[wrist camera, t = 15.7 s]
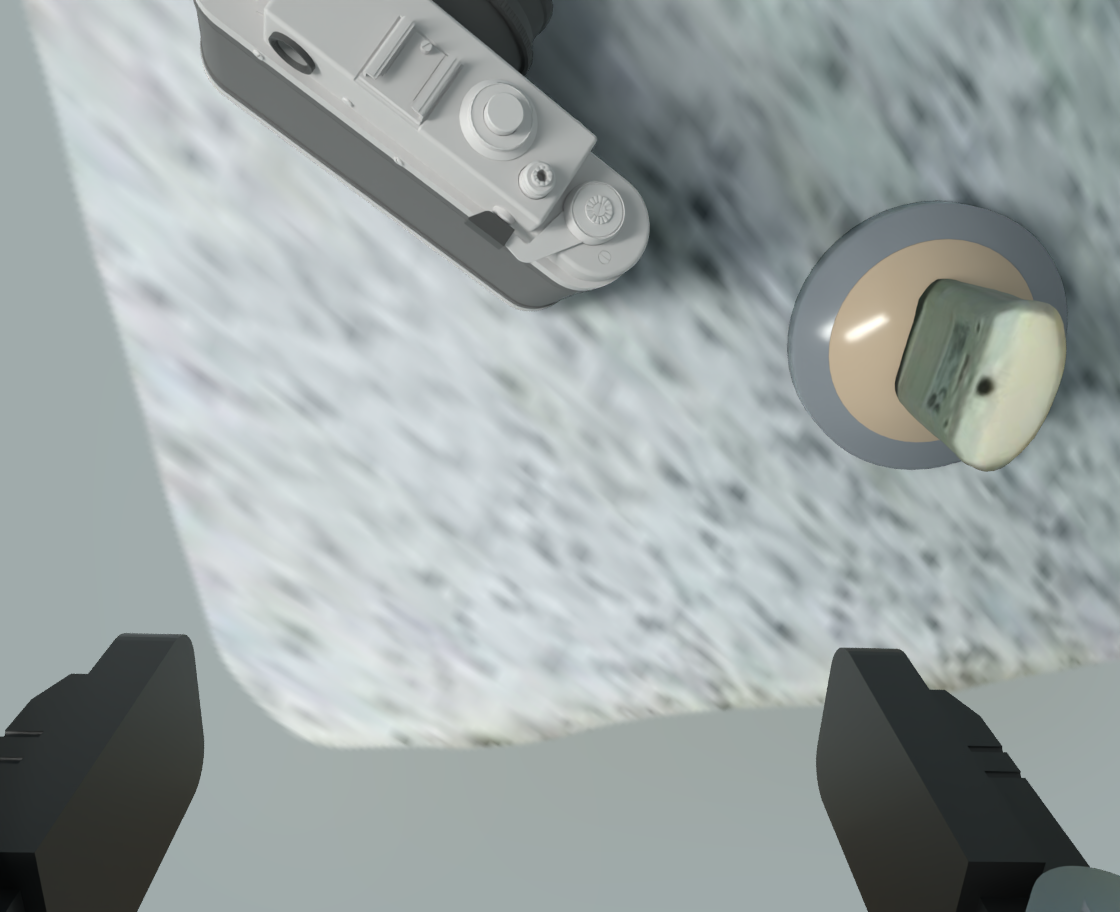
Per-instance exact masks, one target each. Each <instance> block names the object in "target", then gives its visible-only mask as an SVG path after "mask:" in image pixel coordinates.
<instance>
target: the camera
mask: <svg viewBox="0 0 1120 912" xmlns="http://www.w3.org/2000/svg"><path fill="white" fill-rule="evenodd" d="M193 1H194V4H195V7H196V9H197V15H198V22H199V28H200V34H201V41H200V51H201V59H202V63H203V67H204V70H205V73H206V75H207V77H208V79H209V80H210V82H211V83H212V85H213V86H214V87H215V88H216V89H217V90H218V91H219V92H220V93H221V94H222V95H223V96H224V97H226V98H227V99H228V100H230V101H231V102H233V103H234V104H235V105H237V106H238V107H239V108H241V109H242V110H243V111H245V112H246V113H247V114H249V115H250V116H252V117H253V118H254V119H256V120H257V121H258V122H260V123H261V124H262V125H264V126H265V127H267V128H268V129H269V130H271V131H272V132H273V133H275V134H276V135H277V136H279V137H280V138H281V139H283V140H284V141H286V142H287V143H288V144H290V145H291V146H292V147H294V148H295V149H296V150H298V151H299V152H300V153H302V154H303V155H305V156H306V157H307V158H309V159H310V160H311V161H313V162H314V163H315V164H317V165H318V166H319V167H321V168H322V169H324V170H325V171H326V172H328V173H329V174H330V175H332V176H333V177H334V178H336V179H337V180H339V181H340V182H341V183H343V184H344V185H345V186H347V187H348V188H349V189H351V190H352V191H353V192H355V193H356V194H358V195H359V196H360V197H362V198H363V199H364V200H366V201H367V202H368V203H370V204H371V205H372V206H374V207H375V208H377V209H378V210H379V211H381V212H382V213H383V214H385V215H386V216H387V217H389V218H390V219H391V220H393V221H394V222H396V223H397V224H398V225H400V226H401V227H402V228H404V229H405V230H406V231H408V232H409V233H410V234H412V235H413V236H415V237H416V238H417V239H419V240H420V241H421V242H423V243H424V244H425V245H427V246H428V247H430V248H431V249H432V250H434V251H435V252H436V253H438V254H439V255H440V256H442V257H443V258H444V259H446V260H447V261H449V262H450V263H451V264H453V265H454V266H455V267H457V268H458V269H459V270H461V271H462V272H463V273H465V274H466V275H468V276H469V277H470V278H472V279H473V280H474V281H476V282H477V283H478V284H480V285H481V286H482V287H484V288H485V289H487V290H488V291H489V292H491V293H492V294H493V295H495V296H496V297H497V298H499V299H500V300H502V301H503V302H504V303H506V304H507V305H509V306H511V307H513V308H515V309H518V310H522V311H538V310H541V309H545V308H547V307H550V306H552V305H554V304H555V303H557V302H558V301H560V300H561V299H564V298H566V297H569V296H571V295H574V294H577V293H582V292H586V291H589V290H593V289H597V288H600V287H603V286H605V285H607V284H610V283H612V282H613V281H615V280H617V279H618V278H619V277H620V276H622V275H623V274H624V273H625V272H626V271H628V270H629V269H630V268H632V267H633V266H634V265H635V264H636V263H637V262H638V261H639V259H640V258H641V256H642V255H643V253H644V251H645V248H646V246H647V243H648V239H649V232H650V223H649V216H648V211H647V208H646V205H645V203H644V201H643V199H642V197H641V195H640V194H639V192H638V191H637V190H636V189H635V187H634V186H633V185H632V184H631V183H630V182H628V181H627V180H626V179H625V178H623V177H622V176H621V175H620V174H618V173H617V172H616V171H615V170H613V169H612V168H611V167H609V166H608V165H607V164H606V163H604V162H603V161H602V160H601V159H599V158H598V157H597V156H596V155H594V154H593V153H592V152H591V150H592V148H593V147H594V145H595V144H596V142H597V137H596V136H595V135H594V134H593V133H592V132H591V131H589V130H588V129H587V128H586V127H585V126H584V125H583V124H582V123H581V122H580V121H578V120H576V119H575V118H574V117H573V116H571V115H570V114H569V113H568V112H566V111H565V110H564V109H563V108H562V107H560V106H559V105H558V104H557V103H556V102H554V101H553V100H552V99H551V98H550V97H548V96H547V95H546V94H545V93H543V92H542V91H541V90H540V89H539V88H537V87H536V86H535V85H534V84H533V83H531V82H530V81H529V80H528V79H527V78H525V77H524V75H525V74H526V73H527V71H528V70H529V68H530V66H531V64H532V58H533V52H532V43H533V40H534V38H535V37H536V36H537V34H539V33H540V32H541V31H542V30H544V28H545V27H546V25H547V24H548V22H549V21H550V19H551V16H552V12H553V3H552V0H193Z"/></svg>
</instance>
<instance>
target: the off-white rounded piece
mask: <svg viewBox="0 0 1120 912" xmlns="http://www.w3.org/2000/svg"><path fill="white" fill-rule="evenodd" d="M1065 359H1066V338H1065V331H1064V324H1063V321H1062V318H1061V316H1060V314H1059V313H1058V311H1057V309H1055V308H1054V307H1053V306H1051V305H1050V304H1048V303H1044V302H1040V301H1034V300H1024V299H1021V298H1019V297H1016V296H1014V295H1011V294H1008V293H1005V292H1001V291H998V290H995V289H990V288H985V287H981V286H977V285H973V284H969V283H964V282H960V281H958V280H953V279H937V280H935V281H934V282H932V283H931V284H930V285H929V286H928V287H927V288H926V289H925V291H924V292H923V294H922V295H921V297H920V298H919V300H918V304H917V308H916V312H915V317H914V321H913V324H912V327H911V330H910V333H909V336H908V339H907V343H906V346H905V349H904V352H903V355H902V359H901V362H900V366H899V369H898V372H897V375H896V379H895V392H896V395H897V397H898V399H899V402H900V403H901V404H902V405H903V406H904V407H905V408H906V410H907V411H908V412H909V413H910V414H911V415H912V416H913V417H914V418H915V419H916V420H917V421H918V422H919V423H920V424H922V425H923V426H924V427H925V428H926V429H927V430H928V431H929V432H931V433H932V434H933V435H934V436H935V437H937V438H938V439H939V440H941V441H942V442H943V443H944V444H945V445H946V446H947V447H948V448H949V449H951V450H952V451H953V452H954V453H955V454H956V456H957V457H958V458H959V459H960V460H961V461H962V462H964V463H965V464H967V465H969V466H972V467H974V468H975V469H978V470H981V471H995V470H998V469H1000V468H1003V467H1004V466H1006V465H1007V464H1009V463H1010V462H1011V461H1012V460H1013V459H1014V458H1015V457H1016V456H1018V455H1019V454H1020V453H1021V452H1022V451H1023V450H1024V449H1025V448H1026V447H1027V446H1028V445H1029V443H1030V442H1031V441H1032V440H1033V439H1034V437H1035V436H1036V434H1037V432H1038V431H1039V429H1040V427H1041V426H1042V424H1043V422H1044V420H1045V418H1046V417H1047V414H1048V412H1049V410H1050V408H1051V406H1052V403H1053V401H1054V398H1055V396H1056V393H1057V391H1058V388H1059V385H1060V382H1061V378H1062V375H1063V371H1064V366H1065Z"/></svg>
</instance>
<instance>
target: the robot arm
mask: <svg viewBox="0 0 1120 912" xmlns="http://www.w3.org/2000/svg"><path fill="white" fill-rule="evenodd" d="M203 758H204V735H203V726H202V717H201V709H200V700H199V691H198V683H197V673H196V665H195V656H194V649H193V645H192V642H191V640H190V638H189V637H188V636H187V635H181V634H135V633H132V634H131V633H124V634H121V635H119V636H118V637H117V638H116V639H115V640H114V641H113V643H112V644H111V645H110V647H109V648H108V649H107V650H106V652H105V653H104V654H103V656H102V657H101V658H100V659H99V661H98V662H97V663H96V665H95V666H94V667H93V668H92V670H91V671H90V672H89V674H70V675H68V676H67V677H65V678H64V679H62V680H61V681H59V682H58V683H56V684H55V685H53V686H52V687H50V688H48V689H47V690H45V691H44V692H42V693H41V694H39V695H38V696H36V697H34V698H33V699H31V701H30V702H29V703H28V704H27V705H26V707H25V708H24V709H23V710H22V711H21V712H20V714H19V715H18V716H17V717H16V718H15V719H14V721H13V722H12V723H11V724H10V725H9V727H8V728H7V729H6V730H5V736H4V737H0V912H137V911H138V909H139V907H140V905H141V903H142V901H143V898H144V896H145V894H146V892H147V890H148V888H149V886H150V884H151V882H152V880H153V878H154V876H155V874H156V872H157V870H158V868H159V866H160V864H161V862H162V860H163V858H164V856H165V854H166V852H167V849H168V847H169V845H170V843H171V841H172V839H173V837H174V835H175V833H176V831H177V829H178V827H179V825H180V823H181V821H182V819H183V817H184V815H185V813H186V811H187V809H188V807H189V804H190V802H191V800H192V798H193V796H194V794H195V792H196V789H197V786H198V784H199V780H200V776H201V771H202V765H203ZM816 768H817V780H818V786H819V791H820V795H821V798H822V801H823V803H824V806H825V809H826V811H827V814H828V816H829V818H830V821H831V823H832V826H833V828H834V830H835V833H836V835H837V838H838V840H839V843H840V845H841V847H842V850H843V852H844V855H845V857H846V860H847V862H848V864H849V867H850V869H851V872H852V874H853V877H854V879H855V881H856V884H857V886H858V889H859V891H860V893H861V896H862V898H863V901H864V903H865V906H866V907H867V910H868V912H1120V876H1119V875H1116V874H1113V873H1111V872H1107V871H1103V870H1100V869H1096V868H1090V866H1089V865H1088V864H1087V862H1086V861H1085V859H1084V858H1083V857H1082V855H1081V854H1080V853H1079V851H1078V850H1077V849H1076V847H1075V846H1074V844H1073V843H1072V842H1071V840H1070V839H1069V837H1068V836H1067V835H1066V833H1065V832H1064V831H1063V830H1062V828H1061V827H1060V825H1059V824H1058V822H1057V821H1056V820H1055V818H1054V817H1053V816H1052V814H1051V813H1050V811H1049V810H1048V809H1047V807H1046V806H1045V805H1044V803H1043V802H1042V800H1041V799H1040V798H1039V796H1038V795H1037V793H1036V792H1035V791H1034V789H1033V788H1032V787H1031V786H1030V784H1029V783H1028V781H1027V780H1026V779H1025V778H1021V775H1020V770H1019V769H1018V768H1017V766H1016V765H1015V763H1014V762H1013V761H1012V759H1011V758H1010V757H1009V755H1008V754H1007V753H1006V752H1004V753H1003V751H1002V746H1001V744H1000V743H999V741H998V740H997V739H996V737H995V736H994V734H993V733H992V732H991V730H990V729H989V728H988V726H987V725H986V723H985V722H984V721H983V719H982V718H981V717H980V716H979V715H978V714H977V713H975V712H974V711H973V710H971V709H970V708H969V707H967V706H966V705H964V704H963V703H962V702H960V701H959V700H958V699H956V698H955V697H954V696H952V695H951V694H950V693H948V692H947V691H946V690H929V688H928V687H927V685H926V684H925V682H924V681H923V679H922V678H921V676H920V675H919V673H918V672H917V670H916V669H915V668H914V666H913V665H912V663H911V662H910V660H909V659H908V657H907V656H906V654H905V653H904V652H903V651H902V650H900V649H879V648H839V649H838V650H837V651H836V653H835V655H834V657H833V660H832V665H831V670H830V676H829V681H828V687H827V693H826V699H825V705H824V710H823V717H822V722H821V728H820V734H819V740H818V745H817V755H816Z"/></svg>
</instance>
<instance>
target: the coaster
mask: <svg viewBox="0 0 1120 912" xmlns="http://www.w3.org/2000/svg"><path fill="white" fill-rule="evenodd" d="M937 279H953V280H958V281H960V282H964V283H969V284H973V285H977V286H981V287H985V288H990V289H995V290H998V291H1001V292H1005V293H1008V294H1011V295H1014V296H1016V297H1019V298H1021V299H1024V300H1034V301H1040V302H1044V303H1048V304H1050V305H1051V306H1053V307H1054V308H1055V309H1057V311H1058V313H1059V314H1060V316H1061V318H1062V321H1063V324H1064V331H1065V338H1066V332H1067V303H1066V295H1065V291H1064V287H1063V284H1062V280H1061V277H1060V274H1059V272H1058V270H1057V268H1056V265H1055V263H1054V261H1053V260H1052V258H1051V257H1050V255H1049V254H1048V252H1047V250H1046V249H1045V248H1044V246H1043V245H1042V244H1041V243H1040V242H1039V241H1038V240H1037V239H1036V238H1035V236H1034V235H1032V234H1031V233H1030V232H1029V231H1027V230H1026V229H1025V228H1024V227H1023V226H1021V225H1020V224H1018V223H1016V222H1015V221H1013V220H1011V219H1010V218H1008V217H1006V216H1004V215H1001V214H999V213H996V212H993V211H991V210H987V209H983V208H979V207H975V206H970V205H966V204H962V203H957V202H948V201H923V202H916V203H911V204H905V205H901V206H898V207H895V208H892V209H889V210H886V211H883V212H881V213H879V214H877V215H875V216H873V217H870V218H868V219H867V220H865V221H863V222H862V223H860V224H859V225H857V226H855V227H854V228H852V229H851V230H850V231H848V232H847V233H846V234H845V235H843V236H842V237H841V238H840V239H838V240H837V241H836V242H835V243H834V244H833V245H832V246H831V247H830V248H829V249H828V250H827V251H826V252H825V253H824V255H823V256H822V257H821V258H820V260H819V261H818V262H817V264H816V265H815V266H814V267H813V269H812V270H811V272H810V274H809V275H808V277H807V279H806V280H805V282H804V284H803V286H802V288H801V290H800V293H799V295H798V297H797V299H796V302H795V305H794V308H793V312H792V315H791V319H790V325H789V331H788V344H787V353H788V364H789V370H790V374H791V378H792V382H793V385H794V387H795V390H796V393H797V395H798V397H799V399H800V401H801V403H802V404H803V406H804V408H805V410H806V411H807V412H808V413H809V415H810V416H811V417H812V419H813V420H814V421H815V422H816V423H817V425H818V426H819V427H820V428H821V429H822V430H823V431H824V433H825V434H826V435H827V436H829V437H830V438H831V439H832V440H833V441H834V442H835V443H836V444H837V445H839V446H840V447H841V448H843V449H844V450H846V451H847V452H849V453H850V454H852V455H854V456H856V457H858V458H860V459H862V460H864V461H867V462H870V463H873V464H876V465H879V466H884V467H889V468H894V469H908V470H915V469H929V468H935V467H941V466H946V465H949V464H952V463H956V462H959V461H961V460H960V459H959V458H958V457H957V456H956V454H955V453H954V452H953V451H952V450H951V449H949V448H948V447H947V446H946V445H945V444H944V443H943V442H942V441H941V440H939V439H938V438H937V437H935V436H934V435H933V434H932V433H931V432H929V431H928V430H927V429H926V428H925V427H924V426H923V425H922V424H920V423H919V422H918V421H917V420H916V419H915V418H914V417H913V416H912V415H911V414H910V413H909V412H908V411H907V410H906V408H905V407H904V406H903V405H902V404H901V403H900V402H899V399H898V397H897V395H896V392H895V379H896V375H897V372H898V369H899V366H900V362H901V359H902V355H903V352H904V349H905V346H906V343H907V339H908V336H909V333H910V330H911V327H912V324H913V321H914V317H915V312H916V308H917V304H918V300H919V298H920V297H921V295H922V294H923V292H924V291H925V289H926V288H927V287H928V286H929V285H930V284H931V283H932V282H934V281H935V280H937Z"/></svg>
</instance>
